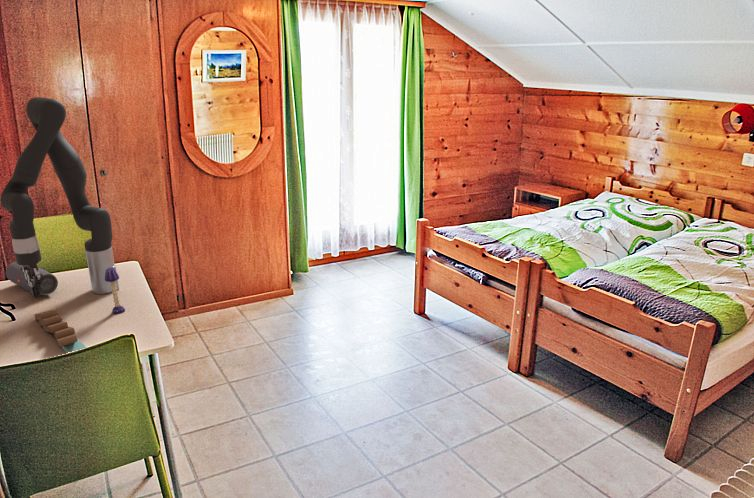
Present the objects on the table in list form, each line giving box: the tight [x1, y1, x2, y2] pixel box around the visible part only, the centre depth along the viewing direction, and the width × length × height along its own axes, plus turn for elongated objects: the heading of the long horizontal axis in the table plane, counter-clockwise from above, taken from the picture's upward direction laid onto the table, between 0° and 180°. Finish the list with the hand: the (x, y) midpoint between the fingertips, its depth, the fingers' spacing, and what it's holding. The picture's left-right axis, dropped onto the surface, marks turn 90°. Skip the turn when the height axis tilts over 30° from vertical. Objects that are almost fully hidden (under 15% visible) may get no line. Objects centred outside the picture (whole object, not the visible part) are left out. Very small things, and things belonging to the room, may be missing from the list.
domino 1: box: [34, 309, 59, 321], centre depth 201 cm, size 2×5×10 cm
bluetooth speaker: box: [5, 261, 59, 296], centre depth 225 cm, size 23×9×10 cm, turn 56°
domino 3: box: [42, 320, 69, 334], centre depth 193 cm, size 2×5×10 cm
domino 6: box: [61, 338, 87, 354], centre depth 183 cm, size 2×5×10 cm
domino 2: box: [38, 314, 63, 327], centre depth 197 cm, size 2×5×10 cm
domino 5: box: [56, 333, 78, 348], centre depth 184 cm, size 2×5×10 cm
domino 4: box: [52, 326, 76, 339], centre depth 189 cm, size 2×5×10 cm
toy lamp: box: [105, 267, 126, 315], centre depth 207 cm, size 5×5×17 cm
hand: (36, 295), depth 203 cm, fingers closed
